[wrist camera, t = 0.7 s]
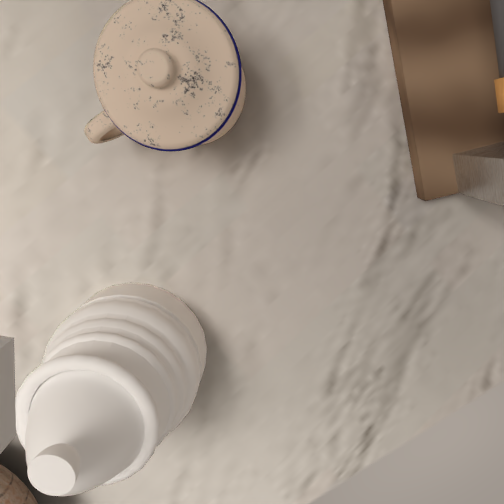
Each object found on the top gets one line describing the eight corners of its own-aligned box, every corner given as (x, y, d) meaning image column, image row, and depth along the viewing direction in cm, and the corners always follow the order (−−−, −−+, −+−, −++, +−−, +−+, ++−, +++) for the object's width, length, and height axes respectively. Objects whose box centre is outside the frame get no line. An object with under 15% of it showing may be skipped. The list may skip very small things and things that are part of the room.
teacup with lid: (211, 2, 34) (179, -66, 22) (270, 111, 35) (268, 98, 24) (84, 87, 36) (-5, 63, 24) (146, 186, 37) (90, 207, 26)
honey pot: (102, 257, 39) (-37, 352, 22) (231, 323, 40) (197, 465, 23) (50, 371, 42) (-108, 535, 25) (171, 430, 43) (101, 627, 26)
